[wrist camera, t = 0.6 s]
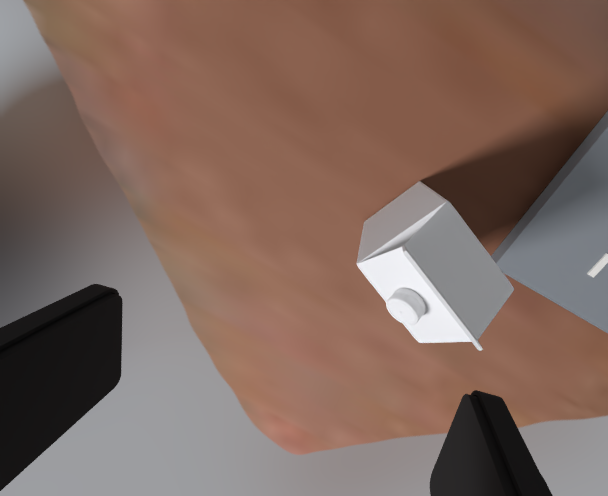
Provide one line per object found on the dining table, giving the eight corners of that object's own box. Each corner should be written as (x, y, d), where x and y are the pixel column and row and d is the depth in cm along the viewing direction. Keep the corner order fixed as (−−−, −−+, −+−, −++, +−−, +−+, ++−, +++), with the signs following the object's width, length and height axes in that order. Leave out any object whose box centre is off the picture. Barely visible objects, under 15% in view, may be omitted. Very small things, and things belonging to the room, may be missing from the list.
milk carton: (419, 180, 35) (464, 210, 17) (460, 234, 36) (544, 318, 18) (363, 221, 37) (351, 287, 19) (402, 271, 38) (425, 379, 20)
